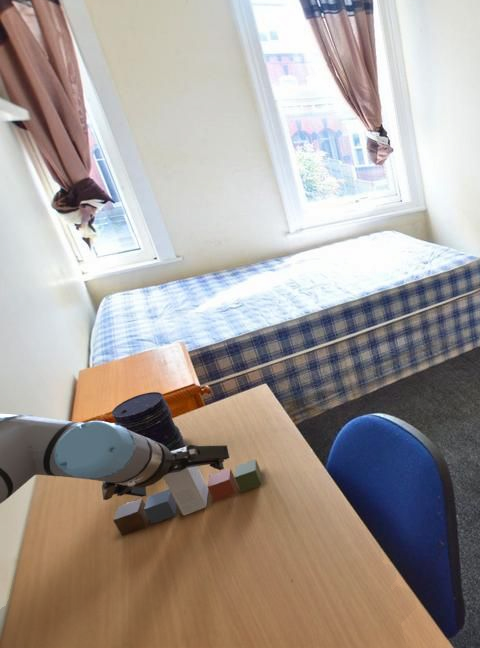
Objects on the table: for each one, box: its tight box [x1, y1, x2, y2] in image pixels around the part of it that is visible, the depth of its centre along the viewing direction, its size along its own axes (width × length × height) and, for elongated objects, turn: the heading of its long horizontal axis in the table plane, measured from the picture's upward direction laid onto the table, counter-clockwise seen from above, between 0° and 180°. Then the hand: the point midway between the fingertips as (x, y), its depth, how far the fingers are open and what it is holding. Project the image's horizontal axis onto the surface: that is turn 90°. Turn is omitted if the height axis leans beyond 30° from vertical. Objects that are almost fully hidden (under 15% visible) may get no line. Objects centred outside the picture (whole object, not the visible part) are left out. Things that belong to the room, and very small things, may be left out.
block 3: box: [207, 467, 237, 502], centre depth 99 cm, size 4×4×4 cm
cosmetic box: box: [162, 446, 209, 516], centre depth 95 cm, size 6×4×12 cm
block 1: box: [112, 497, 149, 536], centre depth 93 cm, size 4×4×4 cm
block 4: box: [234, 459, 262, 493], centre depth 101 cm, size 4×4×4 cm
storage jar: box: [111, 391, 187, 452], centre depth 110 cm, size 10×10×15 cm
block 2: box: [144, 488, 178, 525], centre depth 95 cm, size 4×4×4 cm
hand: (183, 475), depth 95 cm, fingers open, 13 cm apart
